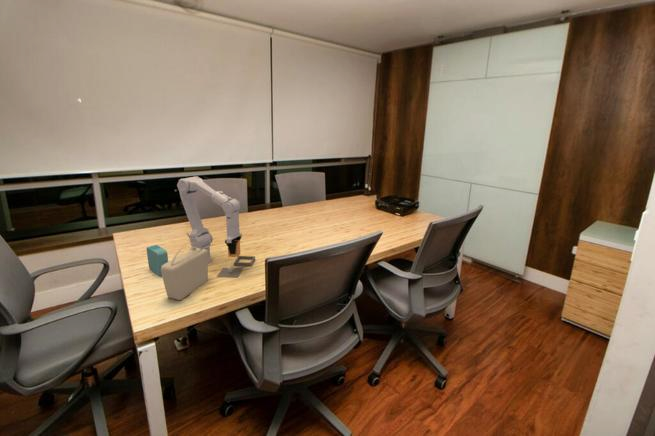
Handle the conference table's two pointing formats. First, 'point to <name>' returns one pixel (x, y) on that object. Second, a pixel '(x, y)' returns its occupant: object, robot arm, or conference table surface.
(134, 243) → the conference table surface
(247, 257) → the tray
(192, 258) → the radio
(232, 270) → the stud plate
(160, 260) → the data package
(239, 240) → the orange brown block
